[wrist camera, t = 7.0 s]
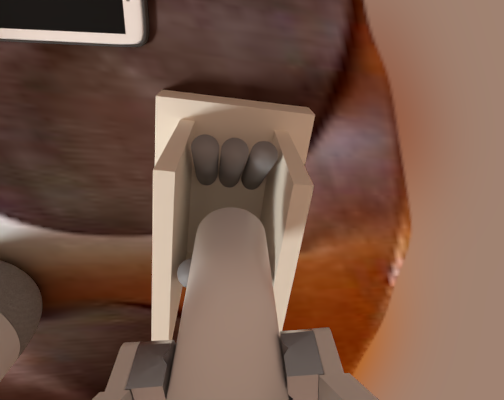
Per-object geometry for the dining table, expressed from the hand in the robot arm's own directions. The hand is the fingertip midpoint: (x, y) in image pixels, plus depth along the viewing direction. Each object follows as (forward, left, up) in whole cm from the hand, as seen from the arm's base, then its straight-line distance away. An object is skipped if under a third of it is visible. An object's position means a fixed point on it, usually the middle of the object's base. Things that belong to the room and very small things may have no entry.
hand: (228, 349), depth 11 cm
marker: (0, 0, -6) cm, 6 cm away
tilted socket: (-3, 0, -20) cm, 20 cm away
